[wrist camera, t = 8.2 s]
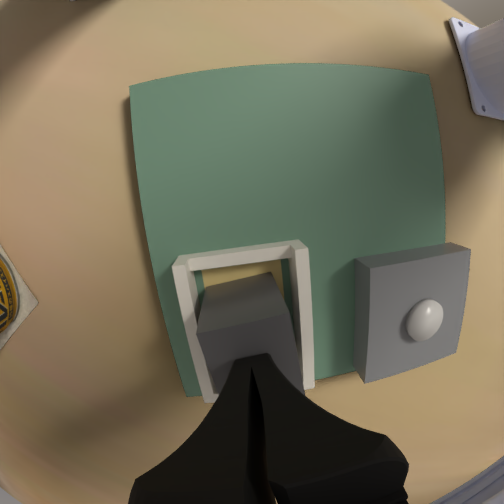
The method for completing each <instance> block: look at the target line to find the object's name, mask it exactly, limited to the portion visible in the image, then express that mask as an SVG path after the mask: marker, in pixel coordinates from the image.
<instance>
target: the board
mask: <svg viewBox="0 0 504 504" xmlns="http://www.w3.org/2000/svg"><path fill="white" fill-rule="evenodd" d="M129 90H130V107H131V121H132V133H133V143H134V153H135V162H136V170H137V178H138V186H139V193H140V200H141V206H142V213H143V219H144V225H145V231H146V236H147V242H148V247H149V252H150V257H151V262H152V267H153V272H154V277H155V282H156V286H157V291H158V295H159V299H160V303H161V308H162V312H163V316H164V320H165V324H166V328H167V332H168V335H169V339H170V343H171V346H172V350H173V354H174V357H175V361H176V364H177V367H178V371H179V374H180V377H181V381H182V384H183V387H184V390H185V393H186V396H187V397H191V396H203V399H204V402H205V403H212V402H215V401H216V399H217V398H218V396H219V394H218V392H217V389H216V387H215V384H214V382H213V379H212V376H211V374H210V371H209V368H208V366H207V363H206V360H205V358H204V355H203V352H202V349H201V347H200V344H199V341H198V338H197V335H196V331H197V326H198V321H199V317H200V312H201V307H202V302H203V298H204V293H205V288H206V287H207V286H211V285H216V284H220V283H224V282H229V281H233V280H237V279H241V278H246V277H250V276H254V275H258V274H262V273H267V272H272V275H273V277H274V279H275V281H276V284H277V286H278V288H279V290H280V292H281V295H282V297H283V299H284V301H285V304H286V306H287V308H288V310H289V313H290V318H291V323H292V328H293V333H294V338H295V343H296V348H297V354H298V359H299V364H300V370H301V375H302V380H303V386H304V390H306V389H311V388H315V380H318V379H322V378H327V377H332V376H336V375H340V374H345V373H349V372H353V371H356V369H355V368H354V366H353V355H354V330H355V261H354V258H358V257H364V256H371V255H377V254H383V253H389V252H396V251H402V250H408V249H414V248H420V247H426V246H432V245H437V244H443V243H445V188H444V172H443V160H442V150H441V142H440V134H439V127H438V120H437V114H436V108H435V103H434V98H433V93H432V88H431V83H430V79H429V75H428V74H422V73H416V72H410V71H404V70H397V69H390V68H381V67H372V66H360V65H346V64H322V63H290V64H265V65H251V66H239V67H230V68H221V69H213V70H206V71H199V72H193V73H187V74H181V75H176V76H171V77H166V78H161V79H156V80H152V81H147V82H143V83H139V84H135V85H131V86H129Z"/></svg>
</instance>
